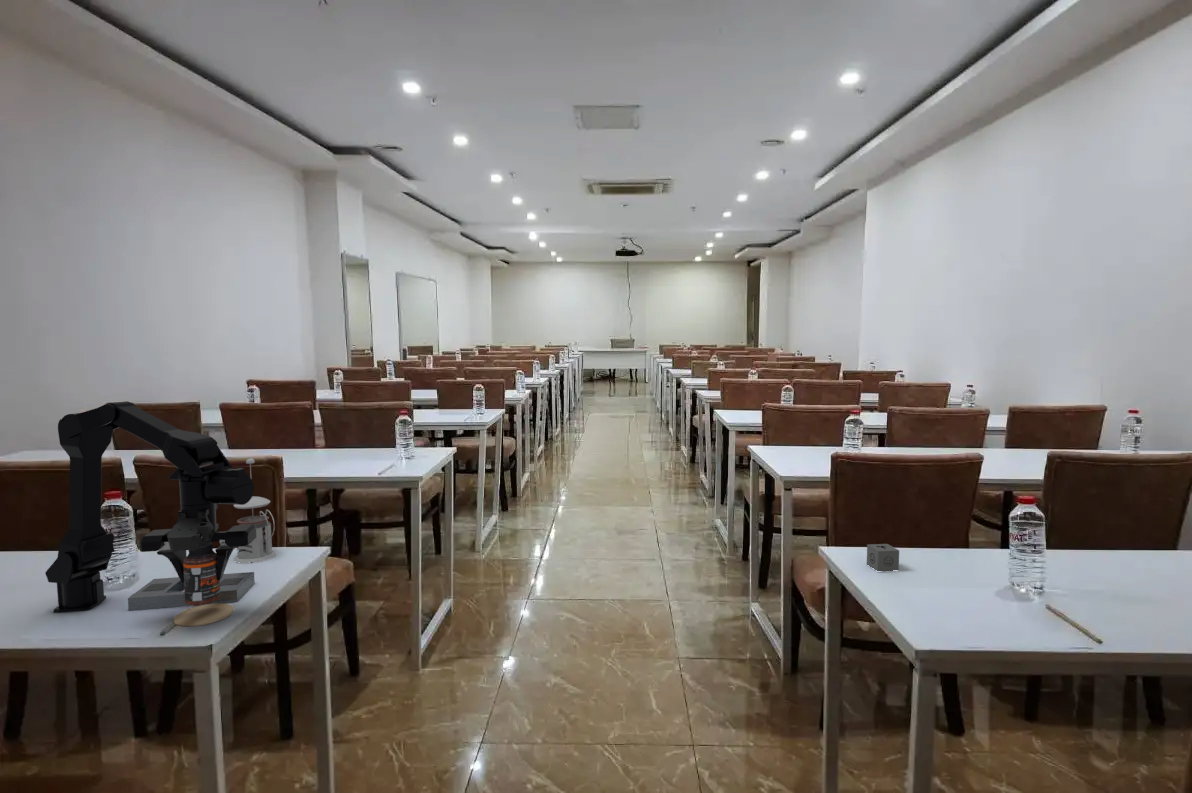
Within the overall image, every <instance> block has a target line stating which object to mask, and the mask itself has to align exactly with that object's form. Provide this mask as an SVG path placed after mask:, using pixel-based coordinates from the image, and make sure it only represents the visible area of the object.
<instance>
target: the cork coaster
mask: <svg viewBox="0 0 1192 793" xmlns="http://www.w3.org/2000/svg"><path fill="white" fill-rule="evenodd" d="M234 610H235V609H234V606H233V605H232V604H229V603H215V604H205V605H199V606H194V607H191V608H188V609H185V610H183V611H181V612H179V613H178V614H176V616H174V619H173V623H174V624H175V625H176V626H179V627H199V626H204V625H205V626H206V625H210V624H213V623H216V622H220V621H222V620H224V619H226V618H228V617H230V616H231V615H232V614H233V613H234Z"/></svg>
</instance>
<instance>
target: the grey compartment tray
mask: <svg viewBox="0 0 1192 793" xmlns="http://www.w3.org/2000/svg"><path fill="white" fill-rule="evenodd" d="M255 582H256V581H255V572H254V571H249V572H235V573H233V572H232V573H224V574H223V576H222V579H221V580H220V585H221V586H220V597H219V599H217V600H216V601H214V602H212V603H209V604H215V603H224V604H229V603H238V602H239V601H240V600H241V599H242V598H243V597H244V595H245V594H246V593H247V592H248V591H249V589H251V587H252V586H254V585H255ZM189 606H191V607H192V605H188V604H186V603H185V592H184V583H182V582H181V580H180V578H179V576H177V577H163V578H153V579H152V580H151V581H149V582H148V583H146V584H144V586H142V587H141V588H139V589H138V590H136V592H135V593H133V594H131V595H130V596H129V597H127V607H128V608H127V609H128V611H139V610H150V609H153V610H154V609H163V608H164V609H165V608H177V607H189Z"/></svg>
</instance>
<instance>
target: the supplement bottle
mask: <svg viewBox="0 0 1192 793" xmlns="http://www.w3.org/2000/svg"><path fill="white" fill-rule="evenodd" d="M213 547H214V546H213V542H202V543H201V546H200V547H199V548H198V549H197V550H194V551H189V550H188V555H186V556H187V557H185V559H184V562H183V568H184V590H183V592H185V603H186V604H188V605H191V606H194V607H197V606H201V605H206V604H209V603H212V602H214V601H216V600H217V599H219V597H220V586H221V585H220V580H217V553H216V551H214V550H213V549H214V548H213Z"/></svg>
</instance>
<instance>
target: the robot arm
mask: <svg viewBox="0 0 1192 793" xmlns="http://www.w3.org/2000/svg"><path fill="white" fill-rule="evenodd" d="M116 429H122V430H125V431H126V432H127V433H129V434H132V435H134V436H135V437H137V438H139V439H141V440H143V441H144V442H146V443H148V444H150V445H152V446H154V447H156V448H158V449H159V450H160V451H161V452H162V453H163V454H162V455H163V457H164V458H165V459H166V460H167V461H168V462H169V463H171V464H172V465H173V466H175V468H176V469H175V471H174V472H173V473H171V474H170V475H169V476H168V479H169V480H173V481H176V480H177V481H178V482H179V500H180V501H179V503H180V510H178V511H177V513H178V514H177V520H176V524H174V525H173V527H172V528H166V529H165V528H162V529H153V530H151V531H150V532H149V533H147V534H145V535H143V536H142V537H141V538H140V541H139V552H140V553H146V552H156V554H157V555H158V556H163V557H165V558H167V559H168V560H169V562H170V563H171V565H172V566H173V568H174V570H175V572H176V574H177V577H179V578H180V580H181V582H182V583H184V568H183V562H184V559H185V557H187V556H188V555H187V551H188V552H189V551H194V550H197V549H198V548H199V547H200V546H201V543H202V542H212V543H214V542H215V543H216V542H219V544H220V545H219V546H218V547H217V548H215V551H214V552H215V553H217V580H221V579H222V576H223V574H225V571H226V568H227V565H228V563H229V560H230V558H231V555H232V553H233V551H234V550H235V549H237V548H238V546H246V545H249V544H250V543H251V542H252V541H253V540H254V539H255V538H256V529H255V527H254V526H253V525H240V524H238V525H233V526H231V528H230V529H228V530H223V531H220V530H219V528H220V526H219V525H220V524H219V523H217V509H219V506H218V505H234V504H236V505H244V504H246V503H248V502H249V501H250V499H251V498H252V496H253V495H254V492H255V483H254V482H253V479H251V478H250V476H249V475H247V474H246V468H241V467H240V468H233V466H232V464H231V463H230V461H229V460H228V459H227V457H226V455H225V454H224V453H223V452H222V450H221V448H220V447H219V446H218V442H217V440H216V439H215V438H213V437H212V436H210V435H209V436H208V435H206V434H203V433H199V432H194V431H188V430H183V429H179V428H177V427H176V426H173V425H171V424H170V423H168V422H166V421H164V420H162V419H161V418H158V417H156V416H155V415H153V414H151V413H149V412H147V411H145V410H143V409H141V408H139V407H138V406H136V404H135V403H134V402H130V401H128V400H126V401H114V402H107V403H105V404H103V405H101V406H99V407H96V408H93V409H88V410H85V411H84V412H83V411H82V412H78V413H77V412H76V413H67V414H65V415H64V416H63V417H62V418H61V419H59V421H58V423H57V434H58V439H59V445H60V446H61V448H62V449H63V450H64V452H66V454H67V456H68V457H69V526H68V529H67V531H66V533H65V534H64V536H63V537H62V539H61V541H60V542H59V545H58V551H57V558H56V559H55V560H54V561H53V562H52V564H51V565H50V566H49V567H48V568H47V570H45V574H44V575H45V576H46V579H47V582H48V583H52V584H53V583H54V584H56V591H57V605H58V606H56V608H53V613H61V612H74V611H85V610H91V609H92V608H94V607H95V606H97V605H99V603H101V602H102V601H104V600H106V599H107V595H106V594H105V588H104V580H103V579H102V578H101V572H102V571H106V570H107V569H108V567H109V562H110V560H111V558H112V554H113V553H115V548H114V540H115V535H114V533H113V532H108V531H107V530H106V529H105V528H104V527H103V525H102V472H103V471H102V461H103V460H102V457H103V454H104V453H105V452H106V451H107V449H108V448H109V446H110V444H111V443H112V438H113V433H114V432H113V431H114V430H116ZM218 530H219V531H218Z"/></svg>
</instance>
